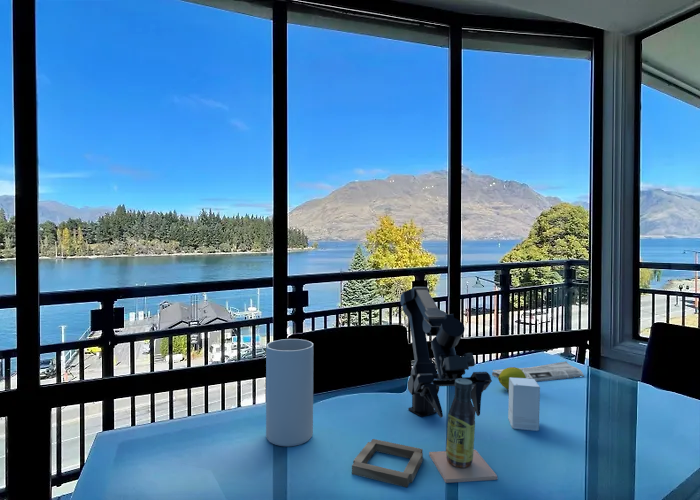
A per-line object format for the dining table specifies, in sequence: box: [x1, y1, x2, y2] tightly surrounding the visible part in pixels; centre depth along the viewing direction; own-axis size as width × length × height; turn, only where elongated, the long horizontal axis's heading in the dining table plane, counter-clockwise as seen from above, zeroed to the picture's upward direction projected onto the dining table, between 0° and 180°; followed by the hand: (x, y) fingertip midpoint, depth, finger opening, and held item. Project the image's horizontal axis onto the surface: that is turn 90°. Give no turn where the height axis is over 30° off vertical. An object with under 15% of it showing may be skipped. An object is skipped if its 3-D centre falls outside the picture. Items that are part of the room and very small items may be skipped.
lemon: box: [497, 366, 526, 391], centre depth 153 cm, size 11×8×8 cm
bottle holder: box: [351, 438, 424, 488], centre depth 102 cm, size 14×14×2 cm
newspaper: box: [491, 360, 585, 382], centre depth 170 cm, size 35×12×4 cm, turn 105°
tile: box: [428, 449, 498, 484], centre depth 102 cm, size 12×12×1 cm
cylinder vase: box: [265, 338, 314, 447], centre depth 116 cm, size 12×12×25 cm
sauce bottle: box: [445, 377, 476, 468], centre depth 102 cm, size 7×6×20 cm
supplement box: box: [507, 378, 541, 432], centre depth 125 cm, size 7×7×13 cm
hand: (460, 416), depth 103 cm, fingers open, 9 cm apart
